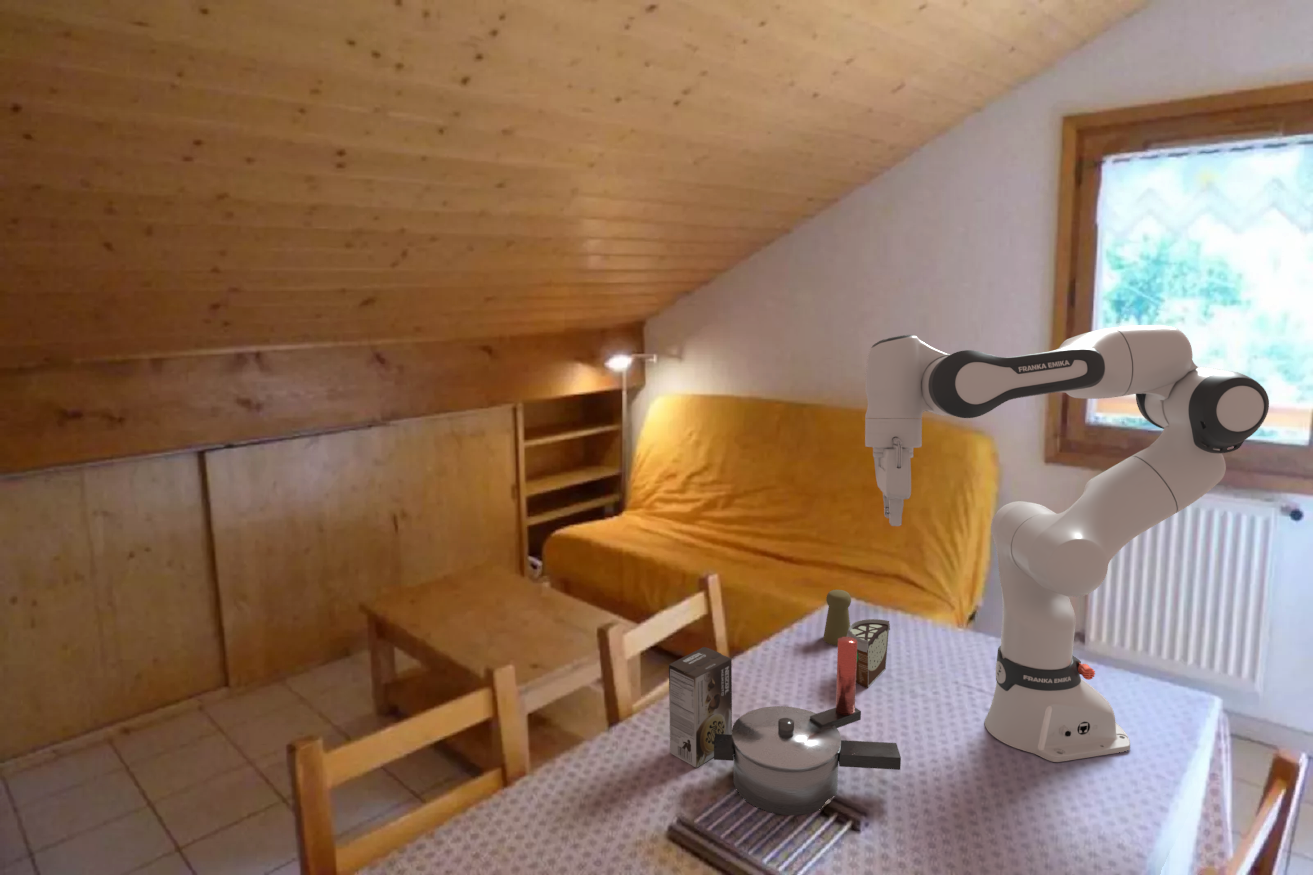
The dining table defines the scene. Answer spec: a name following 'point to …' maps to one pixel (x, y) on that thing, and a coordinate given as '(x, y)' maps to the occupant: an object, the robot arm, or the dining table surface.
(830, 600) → the cork
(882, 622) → the food container
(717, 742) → the pot
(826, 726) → the lid
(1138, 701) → the dining table surface
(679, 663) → the coffee box
